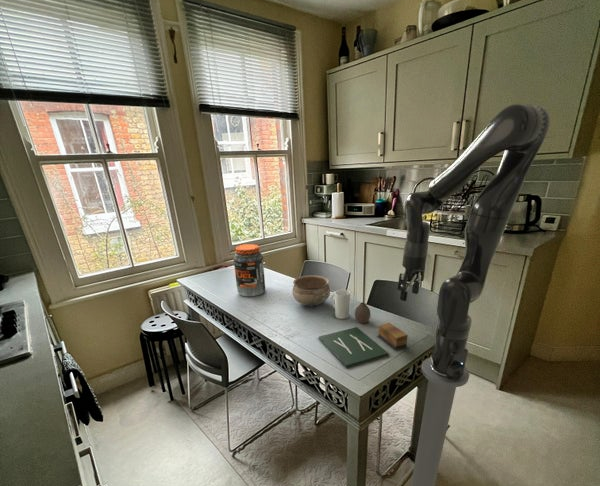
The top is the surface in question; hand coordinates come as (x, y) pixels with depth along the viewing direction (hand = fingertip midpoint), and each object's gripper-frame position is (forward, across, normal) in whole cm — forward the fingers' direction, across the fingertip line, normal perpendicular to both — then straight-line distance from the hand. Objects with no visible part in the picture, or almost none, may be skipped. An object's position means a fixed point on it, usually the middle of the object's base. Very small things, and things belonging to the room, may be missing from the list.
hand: (409, 296), depth 114 cm
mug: (+21, +4, +35) cm, 41 cm away
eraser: (+21, -1, +4) cm, 21 cm away
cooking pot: (+22, +4, +53) cm, 57 cm away
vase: (+21, +5, +23) cm, 32 cm away
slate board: (+21, -14, +14) cm, 29 cm away
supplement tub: (+22, -7, +89) cm, 92 cm away
